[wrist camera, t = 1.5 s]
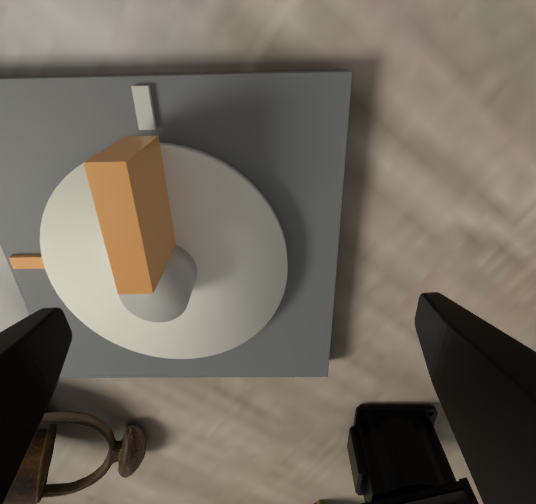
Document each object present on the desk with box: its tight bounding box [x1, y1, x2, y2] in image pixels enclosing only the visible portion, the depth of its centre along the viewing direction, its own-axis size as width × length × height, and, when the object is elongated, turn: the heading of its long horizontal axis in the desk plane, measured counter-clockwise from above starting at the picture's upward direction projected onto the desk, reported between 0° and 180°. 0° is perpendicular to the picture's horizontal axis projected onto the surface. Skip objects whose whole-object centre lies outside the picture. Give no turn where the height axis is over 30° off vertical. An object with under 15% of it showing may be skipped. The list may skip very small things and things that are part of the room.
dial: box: [40, 136, 288, 359], centre depth 20 cm, size 14×14×6 cm
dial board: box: [0, 70, 352, 378], centre depth 23 cm, size 20×20×2 cm
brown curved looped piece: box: [3, 412, 146, 504], centre depth 30 cm, size 7×13×10 cm
